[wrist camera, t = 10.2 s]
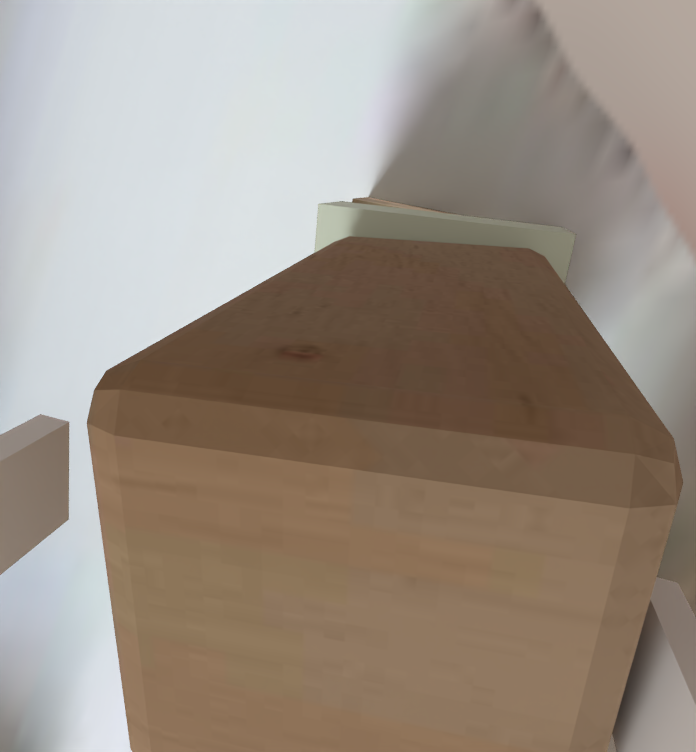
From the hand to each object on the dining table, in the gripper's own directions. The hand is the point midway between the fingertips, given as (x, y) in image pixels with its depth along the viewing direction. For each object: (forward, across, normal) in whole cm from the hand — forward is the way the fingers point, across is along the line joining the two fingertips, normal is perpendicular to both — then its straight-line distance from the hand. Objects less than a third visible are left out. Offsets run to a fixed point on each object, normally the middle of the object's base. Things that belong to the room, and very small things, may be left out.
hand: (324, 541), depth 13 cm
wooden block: (+17, +1, +1) cm, 17 cm away
